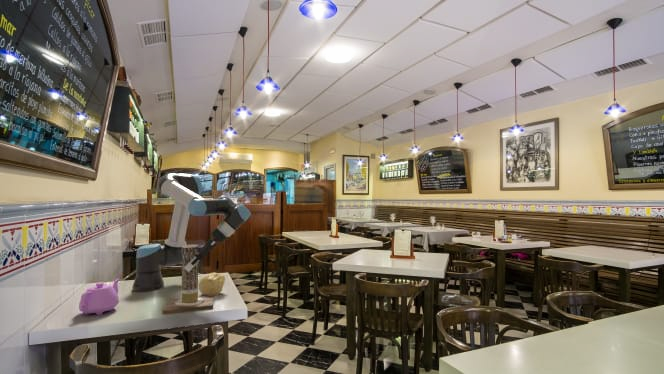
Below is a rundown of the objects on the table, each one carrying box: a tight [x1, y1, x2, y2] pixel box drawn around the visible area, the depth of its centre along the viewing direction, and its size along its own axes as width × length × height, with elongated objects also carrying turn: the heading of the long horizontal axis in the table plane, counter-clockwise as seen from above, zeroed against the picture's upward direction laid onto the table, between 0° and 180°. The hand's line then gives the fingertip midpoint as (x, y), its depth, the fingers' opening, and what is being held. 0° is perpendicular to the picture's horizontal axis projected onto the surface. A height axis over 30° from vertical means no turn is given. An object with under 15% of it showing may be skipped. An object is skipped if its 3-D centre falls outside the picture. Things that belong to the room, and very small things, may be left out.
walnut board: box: [161, 295, 215, 315], centre depth 153 cm, size 16×20×2 cm
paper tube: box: [181, 244, 199, 303], centre depth 154 cm, size 7×7×25 cm
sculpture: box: [198, 272, 226, 296], centre depth 172 cm, size 11×12×11 cm
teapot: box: [78, 277, 120, 316], centre depth 147 cm, size 20×14×12 cm
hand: (187, 267), depth 153 cm, fingers open, 13 cm apart
